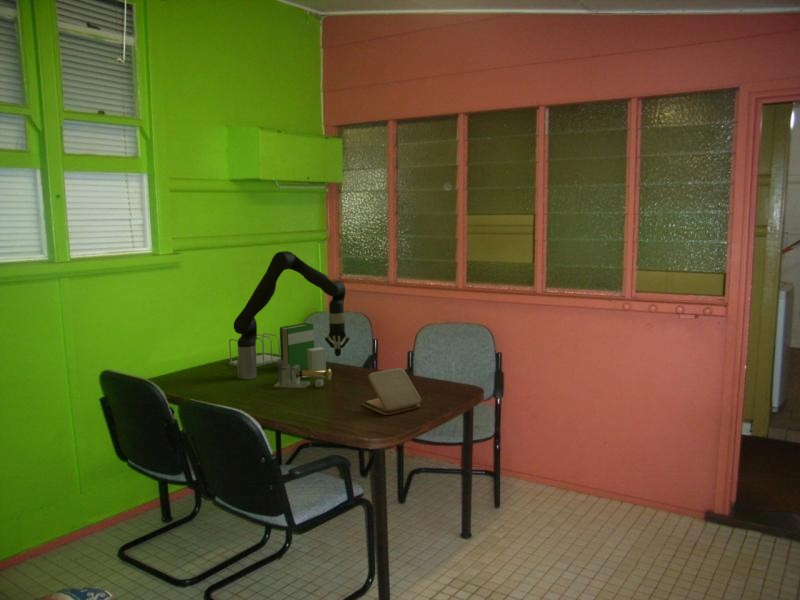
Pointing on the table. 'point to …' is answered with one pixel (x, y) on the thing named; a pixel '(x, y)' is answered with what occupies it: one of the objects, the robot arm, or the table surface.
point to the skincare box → (316, 359)
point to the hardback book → (296, 344)
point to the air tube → (315, 373)
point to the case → (392, 392)
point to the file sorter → (260, 358)
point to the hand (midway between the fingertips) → (338, 355)
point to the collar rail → (286, 379)
